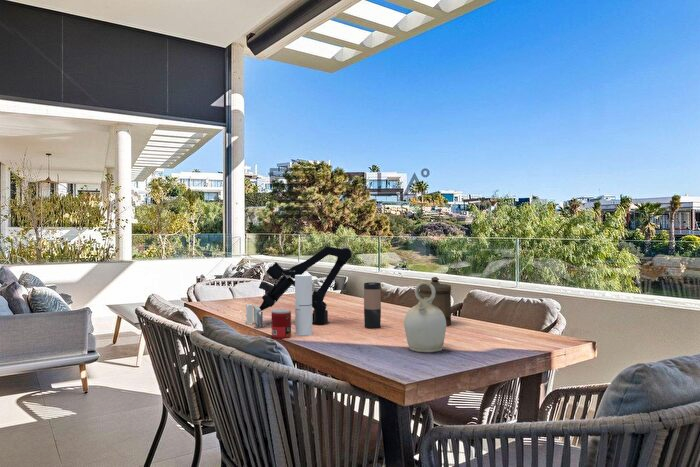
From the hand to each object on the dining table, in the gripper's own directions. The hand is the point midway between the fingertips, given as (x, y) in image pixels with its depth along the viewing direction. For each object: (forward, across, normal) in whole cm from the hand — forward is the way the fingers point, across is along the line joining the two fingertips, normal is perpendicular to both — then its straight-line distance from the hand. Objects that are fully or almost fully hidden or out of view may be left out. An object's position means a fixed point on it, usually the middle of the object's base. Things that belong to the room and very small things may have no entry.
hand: (258, 310), depth 240 cm
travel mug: (-32, +11, +43) cm, 55 cm away
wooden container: (-53, +4, +64) cm, 83 cm away
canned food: (-5, +30, +15) cm, 34 cm away
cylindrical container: (-11, +25, +21) cm, 34 cm away
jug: (-44, +53, +55) cm, 88 cm away
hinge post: (+3, +9, +6) cm, 11 cm away
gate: (+4, +2, +3) cm, 6 cm away
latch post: (+8, -3, +1) cm, 9 cm away
